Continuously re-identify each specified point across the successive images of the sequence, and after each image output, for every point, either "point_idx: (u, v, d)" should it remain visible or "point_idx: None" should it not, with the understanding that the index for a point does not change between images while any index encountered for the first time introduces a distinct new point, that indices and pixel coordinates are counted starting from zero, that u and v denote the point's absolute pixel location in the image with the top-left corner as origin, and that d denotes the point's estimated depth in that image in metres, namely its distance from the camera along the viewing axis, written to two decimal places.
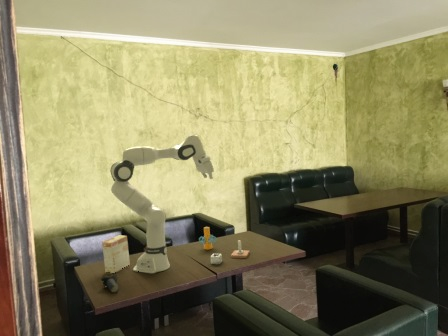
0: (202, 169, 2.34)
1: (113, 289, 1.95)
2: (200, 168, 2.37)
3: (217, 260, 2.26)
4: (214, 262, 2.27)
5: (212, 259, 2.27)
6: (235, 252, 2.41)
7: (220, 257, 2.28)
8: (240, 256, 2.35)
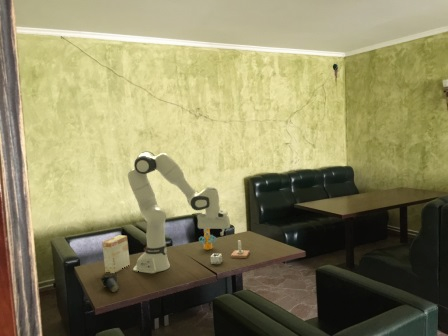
0: (214, 225, 2.25)
1: (113, 289, 1.95)
2: (209, 224, 2.26)
3: (217, 260, 2.26)
4: (214, 262, 2.27)
5: (212, 259, 2.27)
6: (235, 252, 2.41)
7: (220, 257, 2.28)
8: (240, 256, 2.35)
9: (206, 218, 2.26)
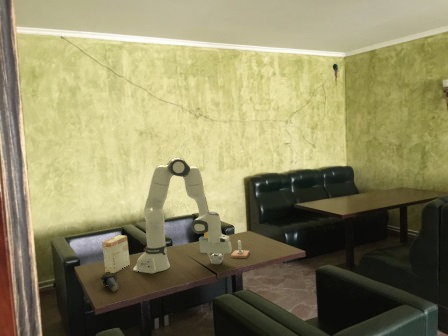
0: (216, 249, 2.27)
1: (113, 288, 1.96)
2: (211, 248, 2.28)
3: (217, 260, 2.26)
4: (214, 262, 2.27)
5: (212, 259, 2.27)
6: (235, 252, 2.41)
7: None
8: (240, 256, 2.35)
9: (208, 243, 2.28)
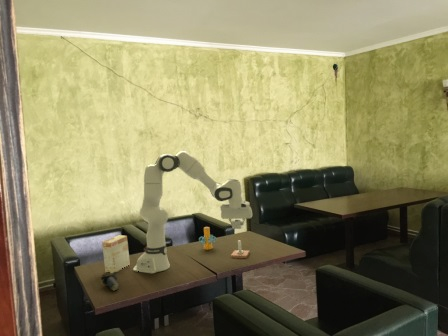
0: (237, 215, 2.34)
1: (113, 287, 1.97)
2: (232, 214, 2.35)
3: (238, 225, 2.34)
4: (235, 227, 2.35)
5: (233, 224, 2.35)
6: (235, 252, 2.41)
7: None
8: (240, 256, 2.35)
9: (229, 208, 2.35)
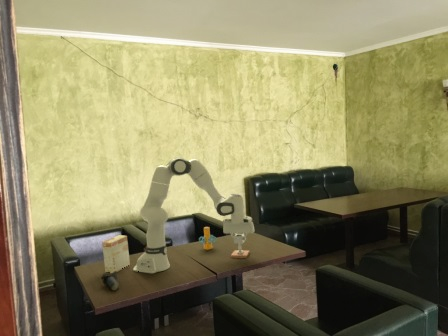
0: (239, 230, 2.36)
1: (114, 287, 1.98)
2: (234, 229, 2.37)
3: (240, 240, 2.36)
4: (237, 242, 2.36)
5: (235, 239, 2.36)
6: (235, 252, 2.41)
7: None
8: (240, 256, 2.35)
9: (231, 223, 2.37)
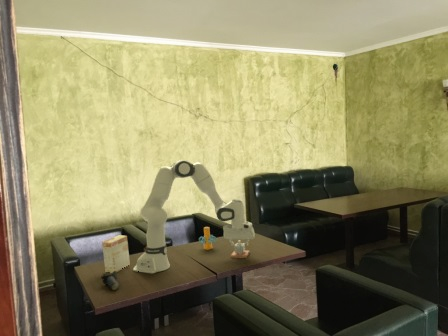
0: (240, 235, 2.36)
1: (114, 286, 1.98)
2: (234, 234, 2.37)
3: (241, 249, 2.36)
4: (238, 251, 2.37)
5: (236, 248, 2.37)
6: None
7: (243, 246, 2.38)
8: (240, 256, 2.35)
9: (232, 229, 2.37)
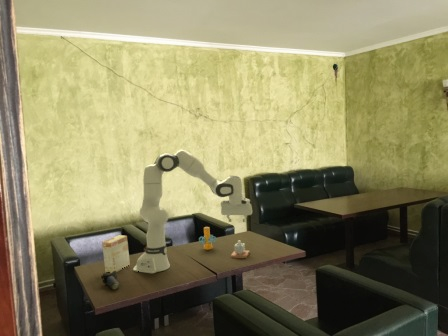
0: (237, 211, 2.35)
1: (114, 286, 1.99)
2: (232, 210, 2.36)
3: (241, 249, 2.36)
4: (238, 251, 2.37)
5: (236, 248, 2.37)
6: None
7: (243, 246, 2.38)
8: (240, 256, 2.35)
9: (229, 205, 2.36)
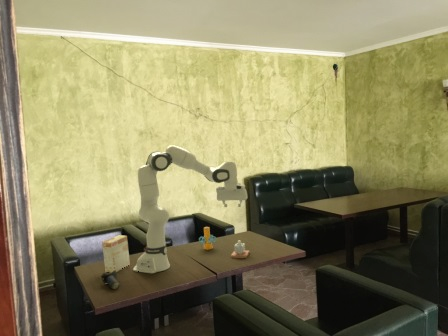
0: (233, 197, 2.39)
1: (114, 286, 1.99)
2: (227, 196, 2.40)
3: (241, 249, 2.36)
4: (238, 251, 2.37)
5: (236, 248, 2.37)
6: None
7: (243, 246, 2.38)
8: (240, 256, 2.35)
9: (225, 190, 2.40)
